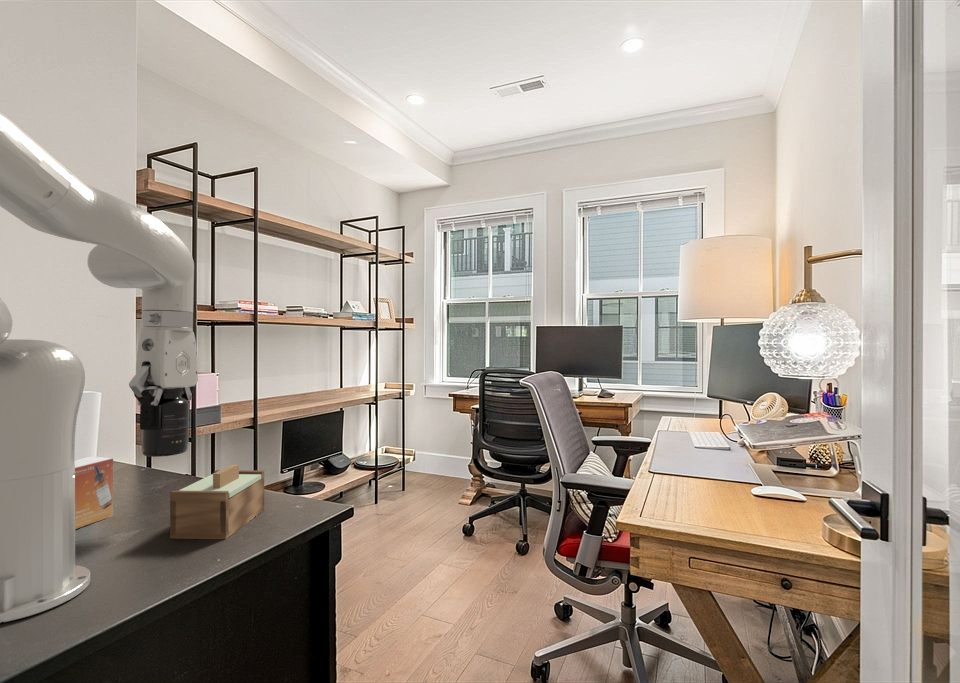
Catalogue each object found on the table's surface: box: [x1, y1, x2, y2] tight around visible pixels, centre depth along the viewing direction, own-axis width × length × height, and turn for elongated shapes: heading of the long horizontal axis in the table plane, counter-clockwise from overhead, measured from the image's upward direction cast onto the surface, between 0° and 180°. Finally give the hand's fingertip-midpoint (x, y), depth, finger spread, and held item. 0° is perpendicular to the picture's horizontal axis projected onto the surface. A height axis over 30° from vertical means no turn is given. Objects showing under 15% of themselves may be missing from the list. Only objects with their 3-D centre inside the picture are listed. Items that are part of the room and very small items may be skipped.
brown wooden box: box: [169, 469, 265, 540], centre depth 84 cm, size 13×9×7 cm
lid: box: [178, 463, 261, 498], centre depth 84 cm, size 11×9×3 cm
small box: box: [75, 456, 114, 530], centre depth 84 cm, size 8×6×10 cm
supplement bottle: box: [141, 385, 190, 458], centre depth 84 cm, size 7×7×12 cm
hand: (165, 425), depth 84 cm, fingers closed on supplement bottle, 6 cm apart
